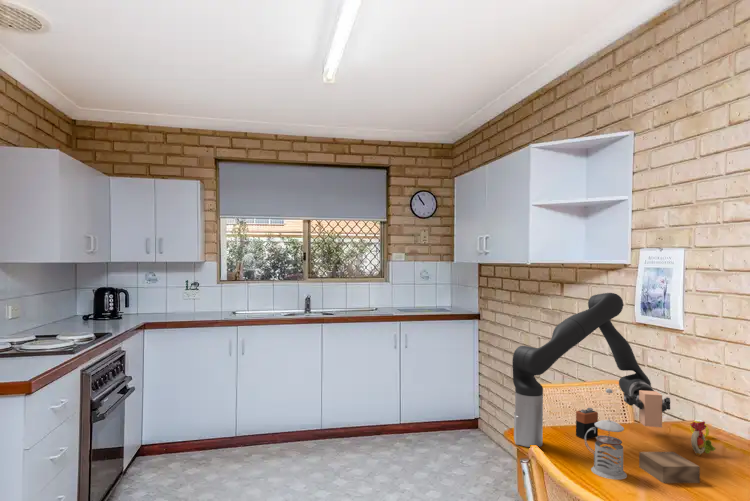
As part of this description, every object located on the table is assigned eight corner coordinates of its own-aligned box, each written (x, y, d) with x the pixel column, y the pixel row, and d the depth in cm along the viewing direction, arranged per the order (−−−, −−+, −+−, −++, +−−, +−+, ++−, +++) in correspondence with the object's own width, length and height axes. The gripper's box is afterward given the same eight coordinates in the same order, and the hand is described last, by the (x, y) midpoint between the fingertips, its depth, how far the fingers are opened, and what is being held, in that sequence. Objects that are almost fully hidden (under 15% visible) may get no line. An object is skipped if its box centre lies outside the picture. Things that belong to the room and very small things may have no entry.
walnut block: (663, 484, 137) (663, 466, 137) (639, 468, 148) (639, 451, 148) (699, 484, 137) (699, 466, 138) (673, 468, 148) (673, 451, 149)
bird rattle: (709, 464, 156) (717, 448, 161) (704, 436, 154) (712, 420, 159) (687, 458, 161) (696, 442, 166) (682, 430, 158) (691, 415, 164)
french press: (625, 482, 136) (626, 394, 137) (582, 472, 143) (582, 388, 144) (628, 470, 145) (628, 387, 146) (587, 461, 151) (587, 382, 152)
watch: (689, 435, 179) (688, 418, 180) (693, 434, 180) (692, 418, 181) (706, 439, 174) (704, 422, 174) (710, 438, 175) (709, 421, 175)
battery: (598, 437, 173) (598, 409, 174) (585, 440, 171) (585, 411, 171) (588, 433, 177) (588, 406, 178) (575, 436, 174) (575, 408, 175)
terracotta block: (644, 426, 151) (644, 394, 151) (639, 421, 155) (639, 390, 156) (662, 427, 150) (662, 395, 150) (655, 422, 155) (655, 391, 155)
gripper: (619, 381, 169) (627, 392, 153) (666, 385, 164) (678, 398, 148) (619, 402, 168) (626, 416, 153) (666, 407, 164) (678, 422, 148)
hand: (652, 407), depth 150 cm, fingers closed on terracotta block, 5 cm apart
